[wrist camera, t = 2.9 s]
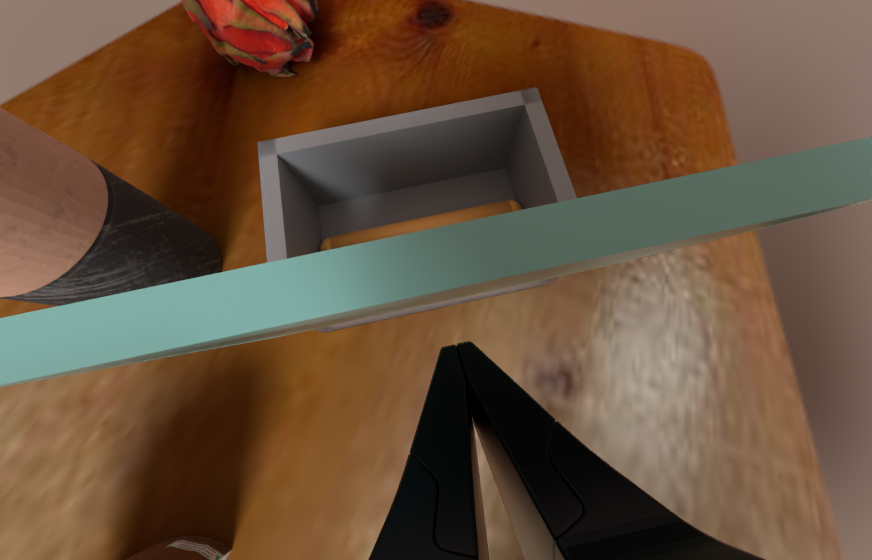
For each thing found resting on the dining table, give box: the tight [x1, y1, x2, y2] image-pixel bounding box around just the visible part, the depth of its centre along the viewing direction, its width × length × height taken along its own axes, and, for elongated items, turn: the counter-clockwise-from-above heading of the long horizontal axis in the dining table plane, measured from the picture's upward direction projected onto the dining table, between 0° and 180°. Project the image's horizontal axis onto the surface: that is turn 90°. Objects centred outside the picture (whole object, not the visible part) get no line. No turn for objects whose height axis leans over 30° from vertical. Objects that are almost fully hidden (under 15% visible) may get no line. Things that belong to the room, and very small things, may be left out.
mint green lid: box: [0, 137, 872, 387], centre depth 10 cm, size 10×16×1 cm
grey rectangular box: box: [257, 87, 577, 333], centre depth 21 cm, size 10×16×7 cm, turn 102°
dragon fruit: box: [181, 0, 319, 77], centre depth 26 cm, size 8×8×12 cm
